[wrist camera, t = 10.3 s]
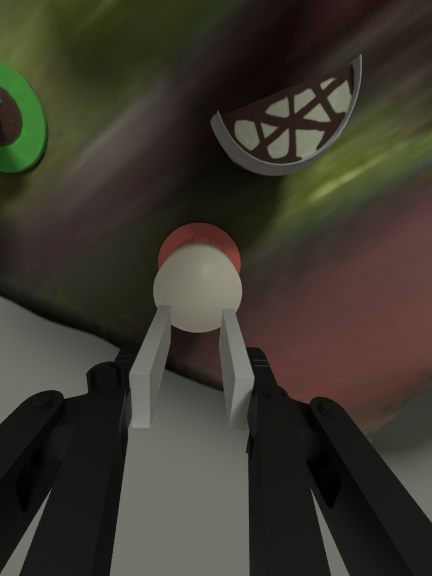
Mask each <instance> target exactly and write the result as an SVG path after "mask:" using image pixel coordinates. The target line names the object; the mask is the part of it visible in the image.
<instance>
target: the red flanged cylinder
mask: <svg viewBox="0 0 432 576" xmlns="http://www.w3.org/2000/svg"><path fill="white" fill-rule="evenodd" d="M191 242H205V243H209V244H212V245H215V246H217V247H218V248H220V249H221V250H223V251H224V252H225V253H226V254H227V255H228V257H229V258H230V260H231V261H232V263H233V265H234V267H235V269H236V271H237V273H238V275H239V273H240V266H241V261H240V255H239V251H238V248H237V246H236V244H235V242H234V241H233V240H232V238H231V237H230V236H229V235H228V234H227V233H226V232H225V231H223V230H222V229H220V228H219V227H217V226H214V225H212V224H208V223H198V222H197V223H190V224H186V225H184V226H181V227H179V228H178V229H176V230H175V231H173V232H172V233H171V234H170V235H169V236H168V237H167V238H166V240H165V241H164V243H163V244H162V246H161V249H160V252H159V256H158V269H160V268H161V267H162V265H163V264H164V262H165V261H166V259H167V258H168V257H169V255H170V254H171V253H172V252H173V251H174V250H175V249H177V248H178V247H180V246H182V245H184V244H187V243H191Z"/></svg>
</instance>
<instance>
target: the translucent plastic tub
mask: <svg viewBox="0 0 432 576" xmlns="http://www.w3.org/2000/svg"><path fill="white" fill-rule="evenodd" d="M47 137H48V127H47V120H46V116H45V113H44V110H43V107H42V105H41V102H40V100H39V98H38V97H37V95H36V93H35V92H34V90H33V89H32V88H31V86H30V85H29V84H28V83H27V81H26V80H25V79H24V78H23V77H22V76H21V75H19V74H18V73H17V72H16V71H14V70H13V69H12V68H10V67H9V66H7V65H6V64H4V63H2V62H1V61H0V172H4V173H16V172H21V171H24V170H27V169H29V168H30V167H32V166H33V165H34V164H36V163H37V162H38V160H39V159H40V158H41V156H42V154H43V153H44V150H45V147H46V144H47Z"/></svg>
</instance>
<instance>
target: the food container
mask: <svg viewBox="0 0 432 576" xmlns="http://www.w3.org/2000/svg"><path fill="white" fill-rule="evenodd" d="M361 71H362V58H361V54H360V55H359V56H358V57H357V58H356V59H354V60H353V61H352V62H351V63H350V64H349V65H347V66H344V67H341V68H340V69H338V70H335V71H333V72H331V73H328V74H325V75H323V76H320V77H317V78H315V79H312V80H309V81H307V82H304V83H301V84H298V85H295V86H292V87H289V88H286V89H284V90H282V91H279V92H277V93H275V94H273V95H270V96H268V97H266V98H263V99H261V100H258V101H256V102H254V103H251V104H249V105H246V106H244V107H241V108H238V109H236V110H233V111H231V112H228V113H226V114H223V115H221V116H220V113H219V111H217V114H215V115H214V116H213V118H212V120H211V121H210V123H211V126H212V128H213V131H214V134H215V135H216V137H217V139H218V141H219V143H220V145H221V146H222V147H223V149H224V151H225V152H226V154H227V155H228V157H229V158H230V159H231V161H232V162H233V163H235V164H236V165H237V166H239V167H240V168H241V169H243V170H246V171H250V172H253V173H258V174H262V175H269V176H280V175H287V174H290V173H294V172H297V171H299V170H301V169H303V168H305V167H307V166H308V165H310V164H311V163H313V162H314V161H316V160H317V159H318V158H319V157H320V156H321V155H322V154H323V153H325V151H326V150H327V149H328V148H329V147H330V146H331V145H332V144H333V143H334V141H335V140H336V139H337V138H338V136H339V135H340V133H341V132H342V130H343V129H344V127H345V125H346V123H347V121H348V119H349V117H350V115H351V113H352V110H353V108H354V105H355V102H356V99H357V96H358V92H359V87H360V82H361Z"/></svg>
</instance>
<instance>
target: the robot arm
mask: <svg viewBox="0 0 432 576" xmlns="http://www.w3.org/2000/svg"><path fill="white" fill-rule="evenodd" d="M170 343H171V306H165V305H159V307H158V310H157V312H156V314H155V317H154V319H153V321H152V323H151V326H150V328H149V330H148V332H147V335H146V337H145V339H144V341H143V343H128V344H126V345H125V346H124V347H122V348H121V350H120V351H119V353H118V356H117V357H116V359H115V361H114V362H110V361H109V362H104V363H100V364H97V365H95V366H94V367H92V368H91V369H90V370H89V371H88V372H87V374H86V375H87V384H88V393H87V394H84V395H81V396H76V397H72V398H67V399H64V397H63V394H62V393H60V392H59V391H55V390H48V391H43V392H40V393H37V394H35V395H33V396H31V397H29V398H28V399H26V400H25V401H24V402H22V403H21V404H20V405H19V407H17V408H16V409H15V410H14V411H13V412H12V414H10V415H9V416H8V417H7V418H6V419H5V420H4V421H3V422H2V423H1V424H0V573H1V571H2V570H3V568H4V567H5V565H6V563H7V562H8V560H9V558H10V557H11V554H12V553H13V552H14V550H15V548H16V547H17V545H18V543H19V542H20V540H21V538H22V537H23V535H24V533H25V532H26V530H27V528H28V527H29V525H30V523H31V522H32V520H33V518H34V517H35V515H36V513H37V512H38V510H39V508H40V507H41V505H42V503H43V502H44V500H45V498H46V497H47V495H48V493H49V492H50V490H51V488H52V490H51V492H50V495H49V498H48V500H47V503H46V506H45V508H44V511H43V514H42V516H41V519H40V521H39V524H38V527H37V529H36V532H35V535H34V537H33V540H32V543H31V546H30V548H29V551H28V553H27V556H26V559H25V561H24V564H23V567H22V569H21V572H20V575H19V576H110V568H111V561H112V553H113V546H114V539H115V531H116V524H117V517H118V509H119V502H120V493H121V487H122V479H123V472H124V464H125V457H126V449H127V443H128V427H129V424H130V421H131V424H132V425H131V426H132V428H150V426H151V421H152V418H153V413H154V409H155V405H156V401H157V397H158V393H159V388H160V384H161V380H162V376H163V372H164V368H165V363H166V359H167V355H168V351H169V347H170ZM219 349H220V358H221V367H222V376H223V384H224V393H225V402H226V411H227V420H228V428H229V429H234V430H236V429H238V430H246V426H247V420H248V425H249V430H250V432H249V437H248V443H247V448H246V453H248V477H249V554H250V555H249V558H250V559H249V561H250V576H331V573H330V569H329V565H328V560H327V557H326V552H325V548H324V544H323V539H322V535H321V531H320V526H319V522H318V518H317V514H316V510H315V505H314V501H313V496H312V493H311V489H312V492H313V494H314V496H315V498H316V501H317V503H318V505H319V507H320V510H321V512H322V514H323V516H324V519H325V521H326V523H327V525H328V528H329V530H330V532H331V534H332V537H333V539H334V541H335V543H336V546H337V548H338V550H339V552H340V555H341V557H342V559H343V562H344V564H345V566H346V568H347V571H348V573H349V575H350V576H432V522H431V521H430V520H429V519H428V517H427V516H426V515H425V514H424V513H423V511H422V510H421V508H420V507H419V506H418V505H417V503H416V502H415V501H414V499H413V498H412V497H411V496H410V494H409V493H408V491H407V490H406V489H405V488H404V486H403V485H402V484H401V482H400V481H399V480H398V479H397V477H396V476H395V475H394V473H393V472H392V471H391V470H390V468H389V467H388V466H387V464H386V463H385V462H384V460H383V459H382V458H381V457H380V455H379V454H378V453H377V452H376V450H375V449H374V448H373V446H372V445H371V444H370V442H369V441H368V440H367V438H366V437H365V436H364V435H363V433H362V432H361V431H360V429H359V428H358V427H357V425H356V424H355V423H354V422H353V420H352V419H351V418H350V416H349V415H348V414H347V413H346V411H345V410H344V409H343V408H342V407H341V406H340V405H339V404H338V403H336V402H335V401H333V400H331V399H328V398H326V397H315V398H313V399H312V400H311V402H310V404H307V403H303V402H300V401H296V400H294V399H291V398H289V396H288V394H287V392H286V391H285V390H284V389H283V388H282V387H280V386H278V385H277V382H276V380H275V377H274V375H273V372H272V370H271V368H270V366H269V363H268V361H267V358H266V356H265V353H264V352H263V351H261V350H260V349H259V348H254V347H245V344H244V341H243V338H242V334H241V331H240V328H239V324H238V321H237V318H236V314H235V311H234V309H223V310H222V320H221V330H220V339H219ZM310 487H311V489H310Z"/></svg>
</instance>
